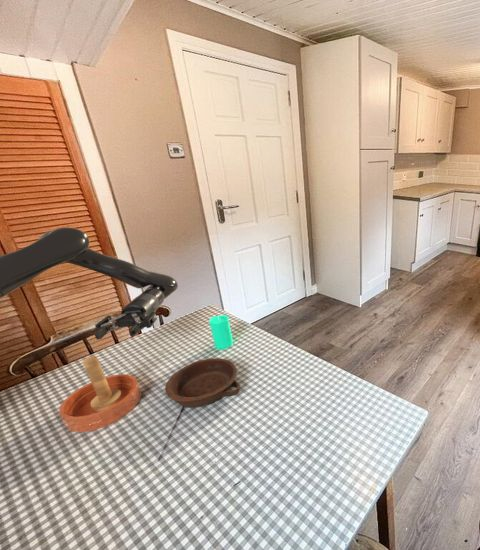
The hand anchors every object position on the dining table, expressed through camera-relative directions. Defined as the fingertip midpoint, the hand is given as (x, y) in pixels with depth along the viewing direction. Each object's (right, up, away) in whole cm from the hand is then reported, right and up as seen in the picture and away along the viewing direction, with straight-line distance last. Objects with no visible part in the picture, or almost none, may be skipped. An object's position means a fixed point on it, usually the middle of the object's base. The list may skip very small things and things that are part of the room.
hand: (114, 335), depth 86 cm
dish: (+26, -16, +1) cm, 30 cm away
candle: (+21, -8, +22) cm, 31 cm away
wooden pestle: (+2, -18, -5) cm, 18 cm away
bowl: (+2, -19, -5) cm, 20 cm away
